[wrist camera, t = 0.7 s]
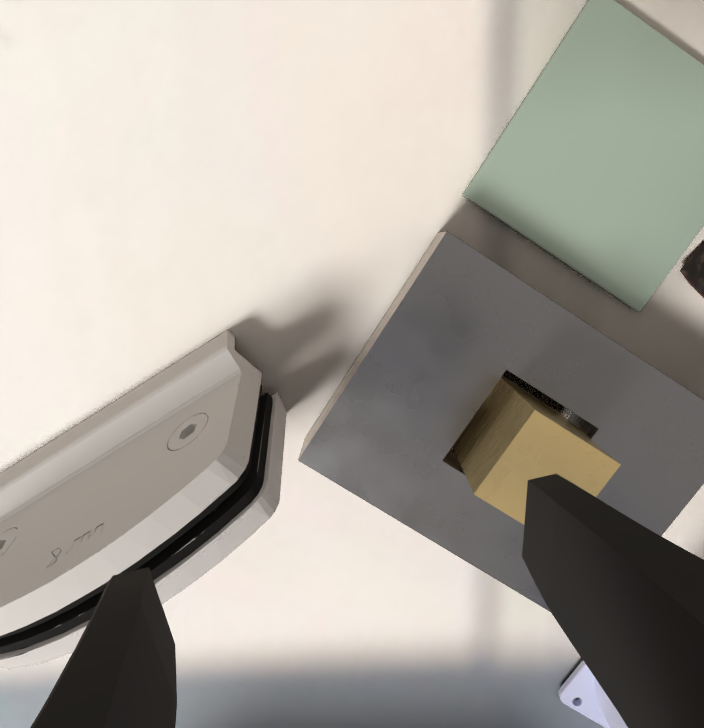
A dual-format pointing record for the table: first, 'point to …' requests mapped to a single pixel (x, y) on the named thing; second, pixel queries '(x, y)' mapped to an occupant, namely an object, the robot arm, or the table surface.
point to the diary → (695, 270)
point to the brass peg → (526, 449)
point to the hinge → (136, 497)
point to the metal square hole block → (470, 389)
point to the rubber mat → (605, 155)
